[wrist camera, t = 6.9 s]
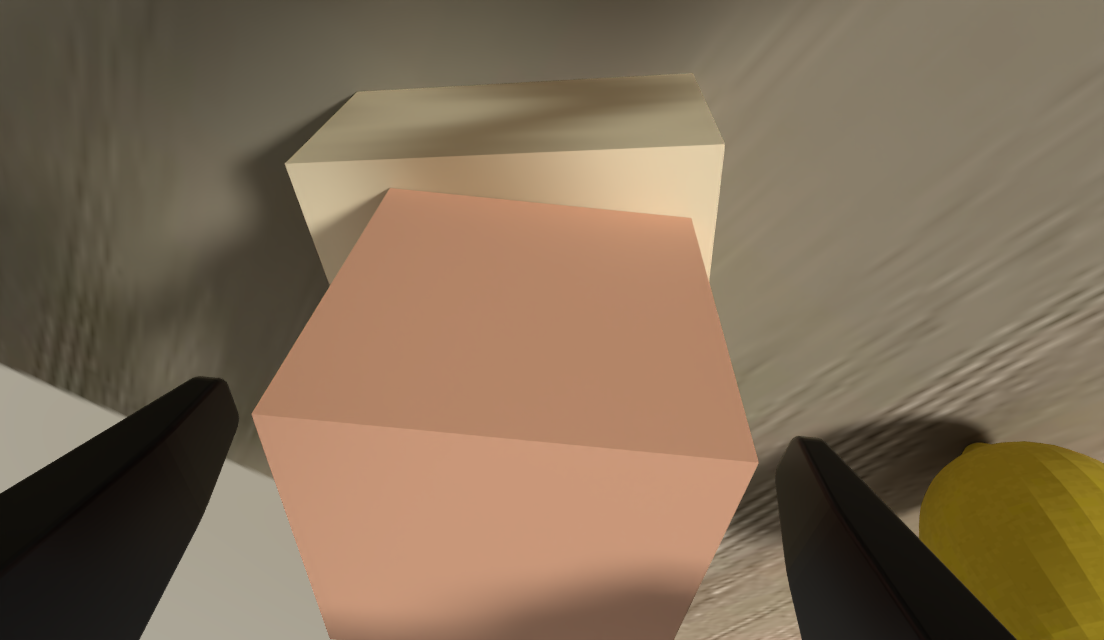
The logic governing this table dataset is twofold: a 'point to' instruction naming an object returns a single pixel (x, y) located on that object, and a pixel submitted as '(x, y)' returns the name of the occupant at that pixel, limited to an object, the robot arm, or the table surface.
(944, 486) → the lemon
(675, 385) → the terracotta cube
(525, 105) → the maple base
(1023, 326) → the table surface
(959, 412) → the table surface
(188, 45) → the table surface
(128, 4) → the table surface
